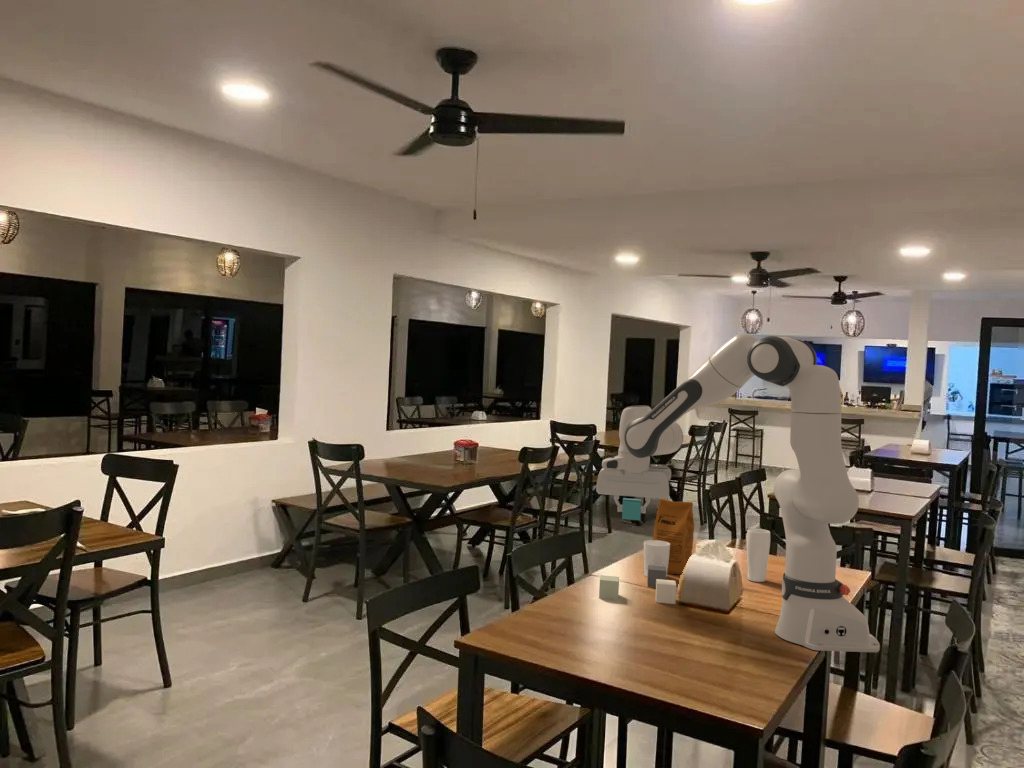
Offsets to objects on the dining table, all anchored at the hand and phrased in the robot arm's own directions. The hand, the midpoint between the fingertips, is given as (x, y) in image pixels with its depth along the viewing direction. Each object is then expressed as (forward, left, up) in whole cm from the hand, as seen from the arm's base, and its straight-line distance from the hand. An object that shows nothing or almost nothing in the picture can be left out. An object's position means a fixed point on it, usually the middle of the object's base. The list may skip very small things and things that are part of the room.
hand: (631, 512), depth 213 cm
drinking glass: (-38, -22, -22) cm, 49 cm away
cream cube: (-10, +8, -22) cm, 25 cm away
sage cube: (+5, +9, -22) cm, 24 cm away
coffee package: (-13, -26, -22) cm, 36 cm away
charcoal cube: (-8, -7, -22) cm, 24 cm away
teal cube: (0, 0, -2) cm, 2 cm away
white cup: (-8, -17, -22) cm, 29 cm away
